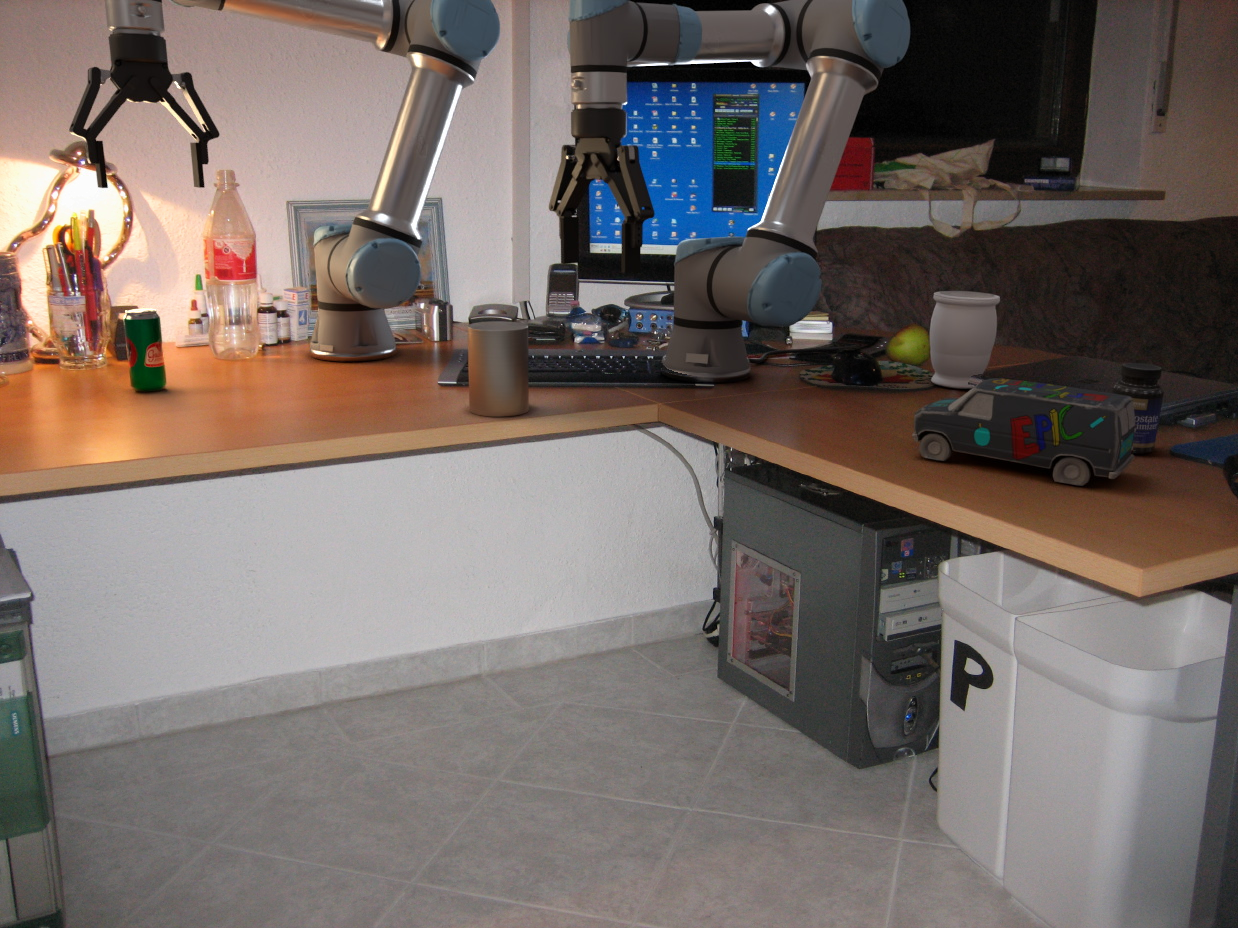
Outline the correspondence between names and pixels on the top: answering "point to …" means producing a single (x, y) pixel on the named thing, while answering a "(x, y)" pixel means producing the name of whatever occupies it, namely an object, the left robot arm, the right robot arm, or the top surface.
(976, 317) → the jar
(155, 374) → the soda can
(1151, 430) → the pill bottle
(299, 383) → the top surface
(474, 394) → the can
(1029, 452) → the toy van
